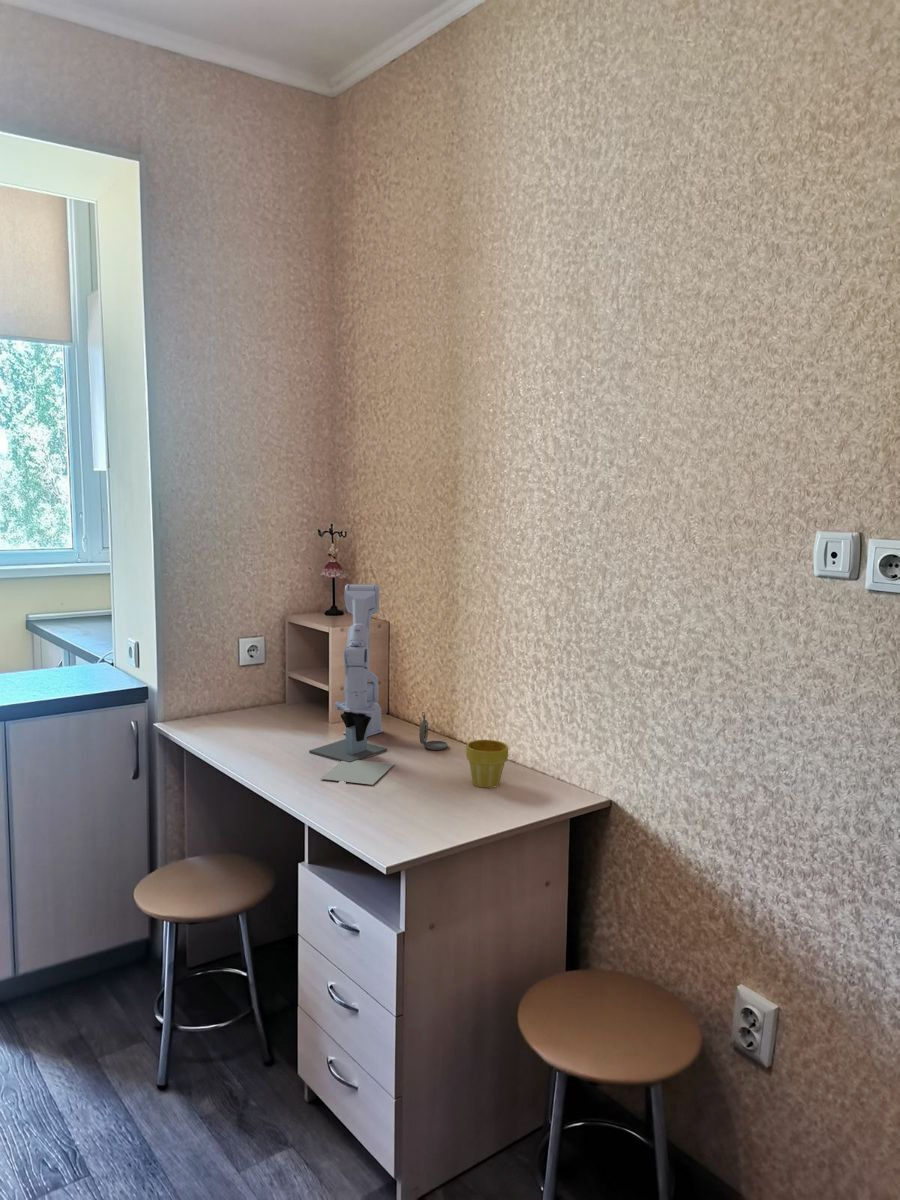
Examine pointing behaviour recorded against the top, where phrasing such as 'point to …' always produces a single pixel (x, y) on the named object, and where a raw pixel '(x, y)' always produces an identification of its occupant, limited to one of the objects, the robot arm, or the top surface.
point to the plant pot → (486, 761)
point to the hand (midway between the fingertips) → (356, 739)
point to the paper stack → (358, 771)
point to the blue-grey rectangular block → (354, 741)
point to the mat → (339, 751)
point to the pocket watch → (424, 733)
